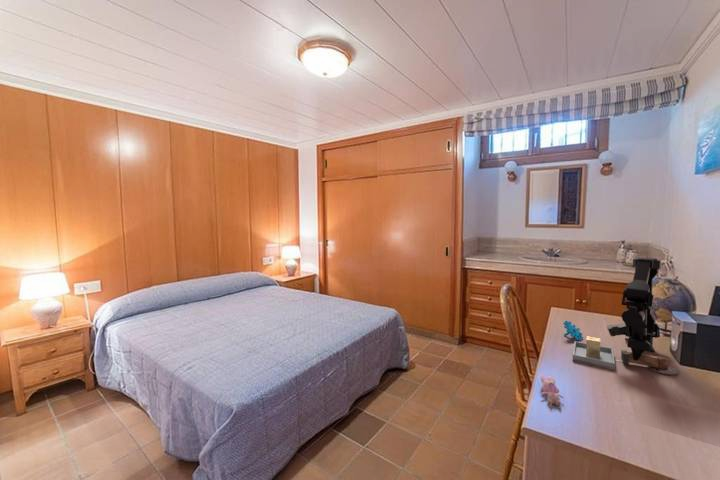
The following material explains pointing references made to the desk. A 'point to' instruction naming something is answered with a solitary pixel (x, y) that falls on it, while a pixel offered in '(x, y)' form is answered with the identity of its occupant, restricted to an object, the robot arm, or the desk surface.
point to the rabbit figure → (551, 391)
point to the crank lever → (645, 360)
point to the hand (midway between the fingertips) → (635, 360)
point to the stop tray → (604, 361)
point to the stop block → (593, 347)
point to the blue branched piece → (572, 330)
